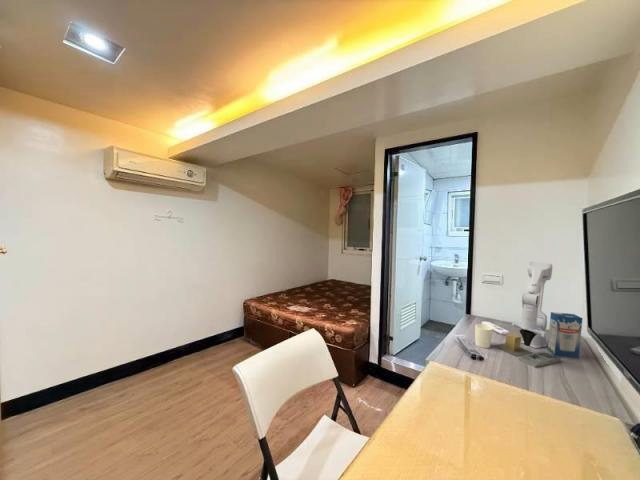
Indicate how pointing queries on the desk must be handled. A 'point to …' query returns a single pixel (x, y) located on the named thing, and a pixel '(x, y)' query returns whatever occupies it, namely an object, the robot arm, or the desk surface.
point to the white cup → (483, 335)
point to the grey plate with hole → (543, 356)
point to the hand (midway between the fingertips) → (527, 345)
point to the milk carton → (564, 335)
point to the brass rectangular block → (513, 342)
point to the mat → (515, 353)
